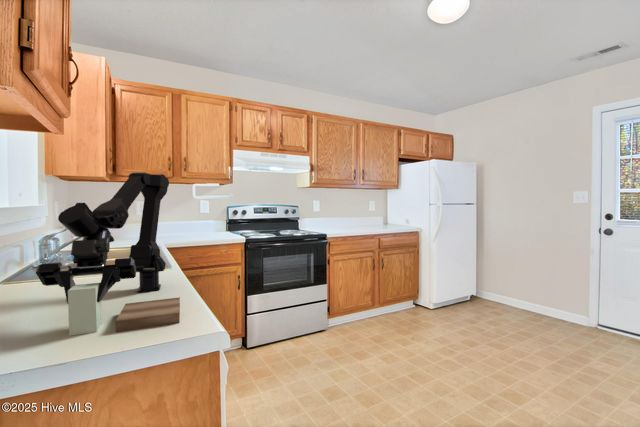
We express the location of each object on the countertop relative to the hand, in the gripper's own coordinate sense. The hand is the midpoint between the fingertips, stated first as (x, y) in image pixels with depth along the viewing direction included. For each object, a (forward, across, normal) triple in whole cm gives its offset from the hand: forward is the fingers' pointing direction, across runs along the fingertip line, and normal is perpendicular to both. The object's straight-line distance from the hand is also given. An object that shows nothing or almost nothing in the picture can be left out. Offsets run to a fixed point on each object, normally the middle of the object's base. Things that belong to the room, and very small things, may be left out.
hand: (83, 302), depth 69 cm
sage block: (+4, 0, +6) cm, 7 cm away
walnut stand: (+2, +13, +7) cm, 15 cm away
